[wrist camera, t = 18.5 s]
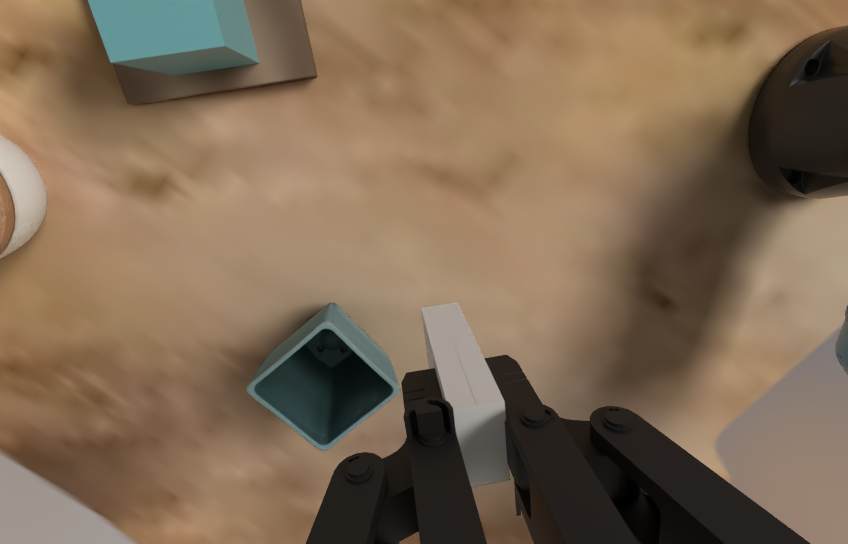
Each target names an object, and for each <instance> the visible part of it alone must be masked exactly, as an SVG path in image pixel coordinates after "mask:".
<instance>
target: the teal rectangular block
mask: <svg viewBox="0 0 848 544" xmlns="http://www.w3.org/2000/svg"><path fill="white" fill-rule="evenodd" d="M88 3H89V5H90V8H91V11H92V14H93V16H94V19H95V22H96V25H97V27H98V30H99V33H100V35H101V38H102V41H103V44H104V46H105V49H106V52H107V54H108V57H109V60H110V63H114V64H119V65H124V66H129V67H134V68H139V69H144V70H149V71H154V72H159V73H164V74H169V75H174V76H177V75H184V74H190V73H197V72H204V71H210V70H217V69H224V68H230V67H237V66H244V65H250V64H257V63H259V59H258V55H257V51H256V47H255V43H254V39H253V36H252V32H251V28H250V24H249V20H248V16H247V12H246V8H245V5H244V1H243V0H88Z"/></svg>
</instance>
